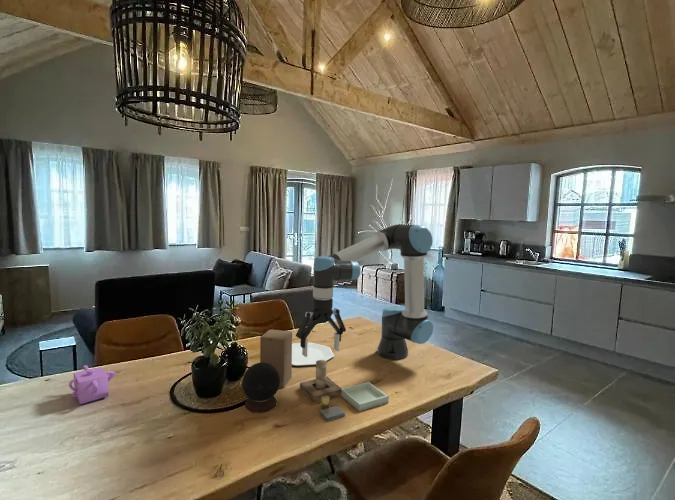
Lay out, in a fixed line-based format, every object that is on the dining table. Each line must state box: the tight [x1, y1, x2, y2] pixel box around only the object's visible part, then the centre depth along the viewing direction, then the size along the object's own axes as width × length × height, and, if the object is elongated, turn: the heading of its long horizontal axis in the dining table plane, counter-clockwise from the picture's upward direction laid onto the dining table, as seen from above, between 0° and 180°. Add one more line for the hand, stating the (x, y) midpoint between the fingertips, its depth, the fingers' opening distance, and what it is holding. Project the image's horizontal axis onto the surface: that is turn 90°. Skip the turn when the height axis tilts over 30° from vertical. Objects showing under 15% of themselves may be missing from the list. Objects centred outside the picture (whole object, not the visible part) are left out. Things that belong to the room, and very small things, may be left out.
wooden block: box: [259, 329, 293, 389], centre depth 145 cm, size 10×10×20 cm
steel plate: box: [319, 405, 346, 422], centre depth 123 cm, size 7×5×1 cm
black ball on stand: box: [241, 362, 280, 414], centre depth 128 cm, size 13×13×15 cm
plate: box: [292, 341, 335, 367], centre depth 174 cm, size 28×28×2 cm
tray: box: [340, 381, 390, 412], centre depth 134 cm, size 13×13×2 cm
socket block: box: [299, 375, 342, 404], centre depth 139 cm, size 12×12×2 cm
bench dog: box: [320, 395, 331, 410], centre depth 127 cm, size 3×3×4 cm
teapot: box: [68, 364, 115, 405], centre depth 131 cm, size 18×14×10 cm
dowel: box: [315, 360, 328, 390], centre depth 138 cm, size 4×4×12 cm
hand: (320, 352), depth 137 cm, fingers open, 13 cm apart
